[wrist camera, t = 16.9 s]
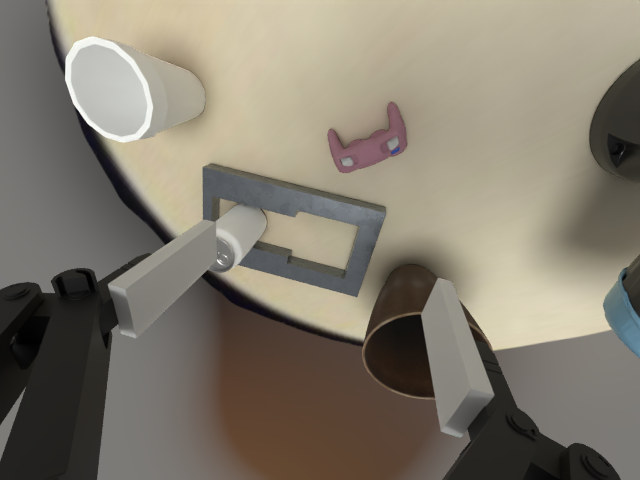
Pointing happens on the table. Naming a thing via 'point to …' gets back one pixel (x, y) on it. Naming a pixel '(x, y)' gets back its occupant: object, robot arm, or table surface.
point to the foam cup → (129, 90)
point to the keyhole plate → (289, 203)
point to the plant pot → (404, 333)
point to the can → (237, 235)
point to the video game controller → (370, 145)
